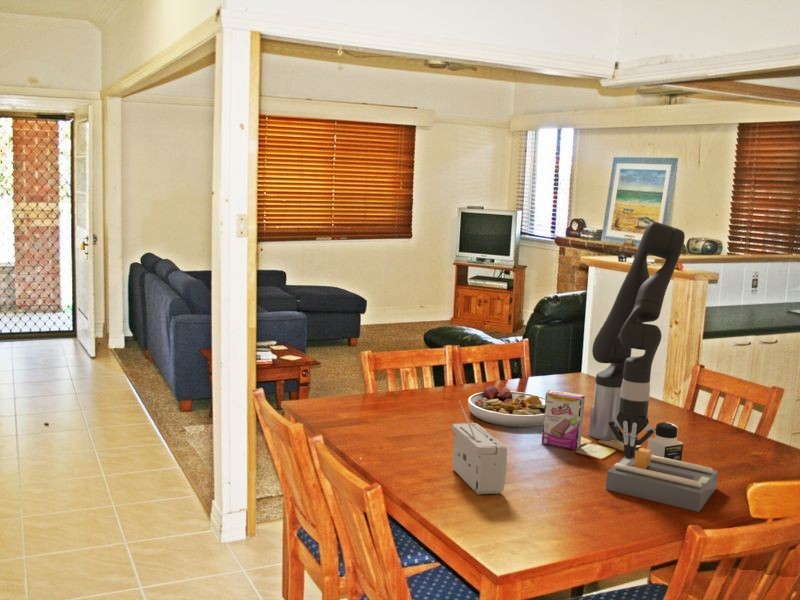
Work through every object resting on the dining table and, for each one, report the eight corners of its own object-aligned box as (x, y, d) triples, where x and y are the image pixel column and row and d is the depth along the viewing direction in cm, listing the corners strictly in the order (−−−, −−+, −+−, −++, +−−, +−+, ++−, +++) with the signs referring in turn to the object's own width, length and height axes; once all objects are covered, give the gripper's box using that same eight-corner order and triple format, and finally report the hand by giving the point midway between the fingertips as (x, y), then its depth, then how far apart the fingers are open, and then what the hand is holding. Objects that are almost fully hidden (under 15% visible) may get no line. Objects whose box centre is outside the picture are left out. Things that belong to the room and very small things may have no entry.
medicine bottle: (663, 469, 245) (667, 429, 243) (645, 461, 251) (649, 421, 249) (681, 466, 248) (685, 426, 246) (663, 458, 254) (667, 419, 252)
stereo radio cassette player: (505, 495, 219) (511, 420, 216) (475, 497, 217) (480, 421, 214) (475, 467, 239) (480, 397, 236) (447, 468, 237) (452, 398, 233)
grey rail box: (605, 489, 227) (607, 465, 226) (628, 468, 244) (630, 446, 243) (698, 511, 215) (701, 486, 213) (715, 488, 231) (718, 465, 230)
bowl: (575, 423, 287) (577, 400, 285) (507, 435, 270) (509, 411, 268) (515, 400, 311) (516, 379, 310) (449, 410, 294) (451, 388, 293)
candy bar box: (540, 444, 261) (545, 392, 259) (545, 440, 266) (549, 388, 263) (577, 451, 257) (581, 398, 254) (581, 446, 261) (585, 394, 259)
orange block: (633, 466, 230) (635, 452, 229) (639, 461, 234) (640, 447, 233) (645, 469, 228) (646, 454, 228) (650, 464, 233) (651, 449, 232)
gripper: (663, 397, 230) (657, 459, 233) (615, 389, 237) (609, 449, 239) (655, 403, 224) (649, 467, 226) (606, 394, 230) (600, 456, 233)
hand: (628, 457), depth 233 cm, fingers closed
